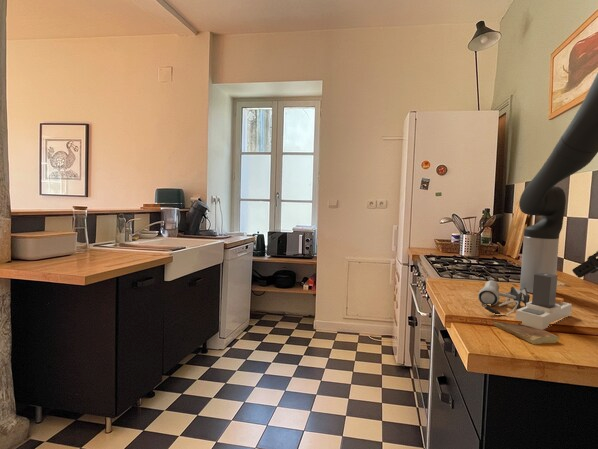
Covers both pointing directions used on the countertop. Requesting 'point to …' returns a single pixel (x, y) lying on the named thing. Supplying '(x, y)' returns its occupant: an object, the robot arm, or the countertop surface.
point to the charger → (544, 290)
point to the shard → (528, 333)
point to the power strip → (542, 314)
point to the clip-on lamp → (492, 295)
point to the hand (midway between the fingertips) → (582, 272)
